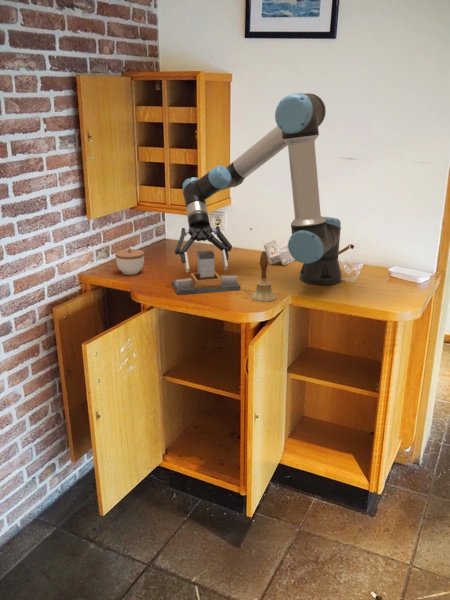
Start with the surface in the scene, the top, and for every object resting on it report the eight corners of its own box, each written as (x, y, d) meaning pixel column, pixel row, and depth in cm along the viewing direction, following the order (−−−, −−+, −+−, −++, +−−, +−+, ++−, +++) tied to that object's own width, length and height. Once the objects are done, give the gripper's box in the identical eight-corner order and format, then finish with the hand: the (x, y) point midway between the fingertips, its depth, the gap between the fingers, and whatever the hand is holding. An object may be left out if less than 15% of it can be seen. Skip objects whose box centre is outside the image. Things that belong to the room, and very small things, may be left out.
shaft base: (231, 279, 206) (231, 269, 205) (240, 289, 195) (240, 278, 194) (172, 283, 201) (172, 273, 200) (177, 294, 190) (177, 283, 189)
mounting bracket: (285, 262, 234) (277, 238, 233) (298, 258, 230) (289, 234, 229) (272, 269, 224) (263, 244, 223) (285, 265, 221) (276, 240, 219)
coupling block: (211, 280, 200) (211, 250, 197) (214, 284, 196) (214, 254, 192) (197, 281, 199) (197, 251, 196) (200, 285, 195) (200, 254, 191)
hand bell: (258, 303, 183) (259, 256, 177) (247, 295, 190) (247, 249, 184) (280, 300, 186) (282, 253, 180) (268, 292, 193) (270, 247, 187)
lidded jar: (144, 267, 220) (143, 244, 217) (145, 275, 210) (144, 251, 207) (116, 268, 218) (115, 245, 215) (116, 277, 208) (114, 252, 205)
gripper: (229, 221, 208) (239, 271, 200) (162, 224, 203) (170, 276, 194) (233, 210, 202) (244, 261, 193) (164, 213, 196) (172, 266, 187)
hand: (207, 269), depth 194 cm, fingers open, 13 cm apart
